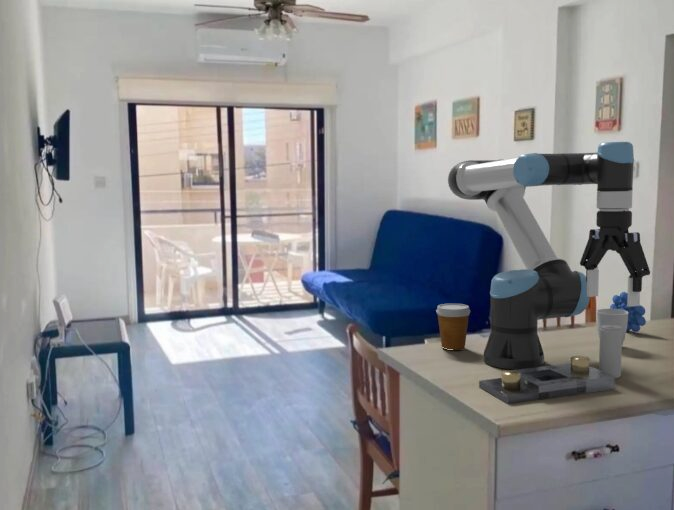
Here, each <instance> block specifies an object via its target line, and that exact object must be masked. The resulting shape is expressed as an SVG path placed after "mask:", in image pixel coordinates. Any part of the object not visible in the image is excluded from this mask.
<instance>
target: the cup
mask: <svg viewBox="0 0 674 510" xmlns="http://www.w3.org/2000/svg"><path fill="white" fill-rule="evenodd" d="M627 323H628V311H625V310H620V309H610V308H599V309H596V327H597V328H596V329H597V333H598V338H599V340H600V328H601V325H617V326H620V327H621V329H622V346H623V345H624V341H625V339H626V333H627V331H626V330H627Z"/></svg>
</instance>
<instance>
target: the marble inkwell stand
mask: <svg viewBox="0 0 674 510" xmlns="http://www.w3.org/2000/svg"><path fill="white" fill-rule="evenodd" d="M590 359H591V358H590V357H588V356H584V355H572V356H570V362H569V363H562V364H560V363H559V364H553V365H545V366H544V365H542V366H541V367H535V368H527V369H507V370H503V371H501V377H498V378H491V379H482V380H478V387H479V389H482V390H483V391H486V392H487V393H489V394H491V396H494V397H495V398H497V399H499V400H501V401H502V402H504V403H505V404H507V405H509V404H517V403H523V402H531V401H540V400H544V399H545V400H546V399H554V398H560V397H561V398H562V397H567V396H573V395H574V396H575V395H581V394H588V393H596V392H603V391H609V390H610V391H612V390H615V383H616V382H615V380H616V379H615V376H613V375H611V374H608V373H606V372H603V371H601V370H599V368H595V367H593V366H590V363H591V362H590V361H591V360H590Z"/></svg>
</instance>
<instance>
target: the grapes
mask: <svg viewBox="0 0 674 510" xmlns="http://www.w3.org/2000/svg"><path fill="white" fill-rule="evenodd" d="M627 297H628V292H626V291H622V292H621V293H620V294H619V295H618V294H616V295H613V297H612V299H611V300H612V303H611V304H610V306H609V309H620V310H625V311H628V323H627V330H626V332H630V331H632V332H634V333H639V332H640V330H641V327H643V326H645V325H646V322H647V321H646V318H645V317H644V315H645V314H646V309H645V307H644V306H642V305H641V304H640V306H631V307H629V306H627Z"/></svg>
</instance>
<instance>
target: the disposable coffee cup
mask: <svg viewBox="0 0 674 510" xmlns="http://www.w3.org/2000/svg"><path fill="white" fill-rule="evenodd" d="M435 311H436V314H437V320H438V326H439V335H440V343H441V348H442V347H444V348H447V349H453V350H461V351H463V350H462V349H464V348H465V347H466V339H467V333H468V327H469V326H468V323H469V317H470V313H471V310H470V307H469V305H467V304H463V303H444V304H443V303H441V304H438V305H437V309H436V310H435ZM464 350H465V349H464Z"/></svg>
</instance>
